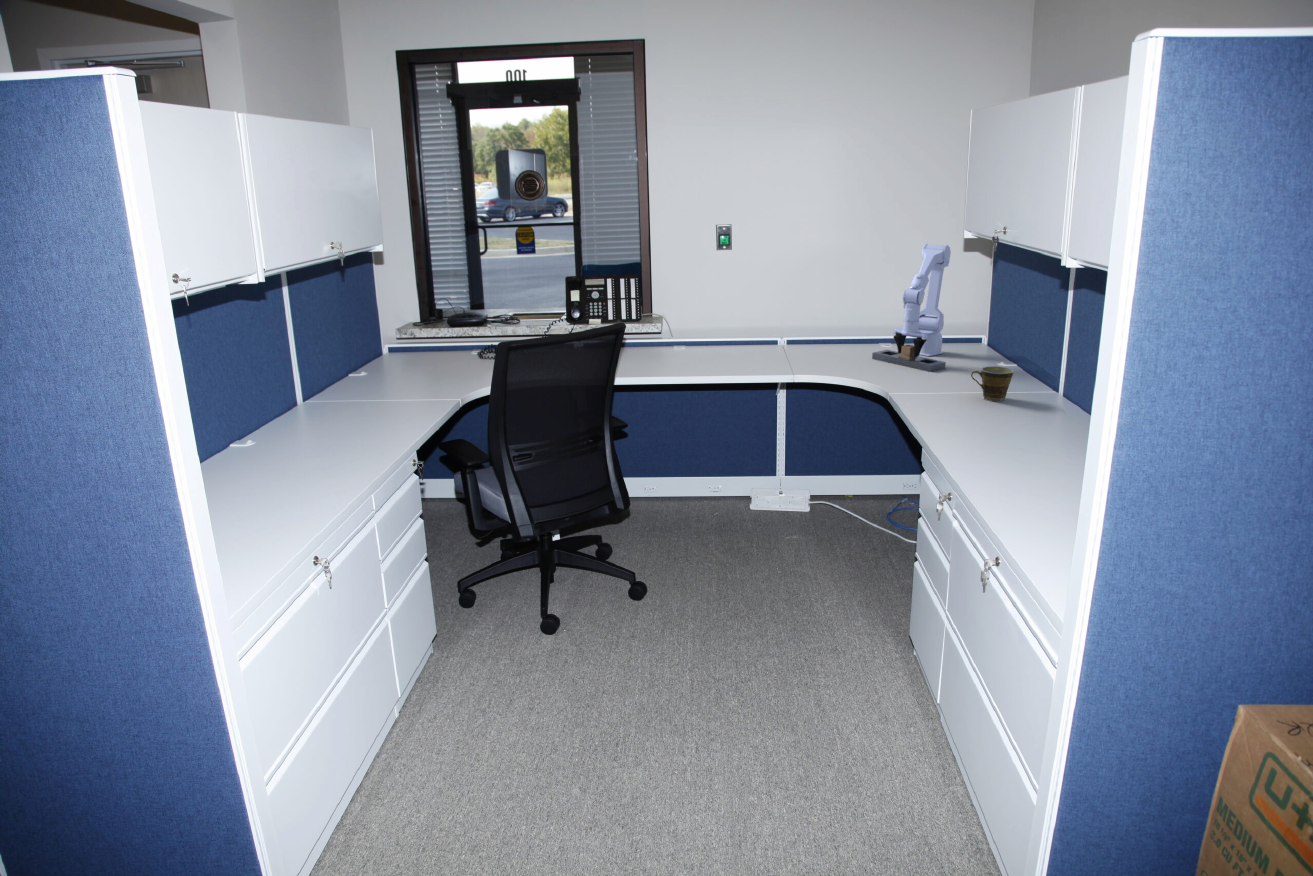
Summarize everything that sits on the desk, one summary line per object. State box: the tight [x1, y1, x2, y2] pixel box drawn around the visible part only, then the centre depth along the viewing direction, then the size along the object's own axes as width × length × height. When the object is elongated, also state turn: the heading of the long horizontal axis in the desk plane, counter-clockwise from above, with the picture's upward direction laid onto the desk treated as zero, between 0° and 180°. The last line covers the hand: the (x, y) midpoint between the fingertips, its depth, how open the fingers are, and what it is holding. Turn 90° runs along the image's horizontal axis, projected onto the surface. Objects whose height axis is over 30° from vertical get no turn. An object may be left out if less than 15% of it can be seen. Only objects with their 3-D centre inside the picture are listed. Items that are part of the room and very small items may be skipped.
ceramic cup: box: [970, 366, 1014, 402], centre depth 282 cm, size 13×10×10 cm
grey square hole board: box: [871, 349, 947, 373], centre depth 332 cm, size 9×28×2 cm, turn 36°
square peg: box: [901, 344, 916, 359], centre depth 331 cm, size 4×4×7 cm
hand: (908, 354), depth 331 cm, fingers open, 7 cm apart
